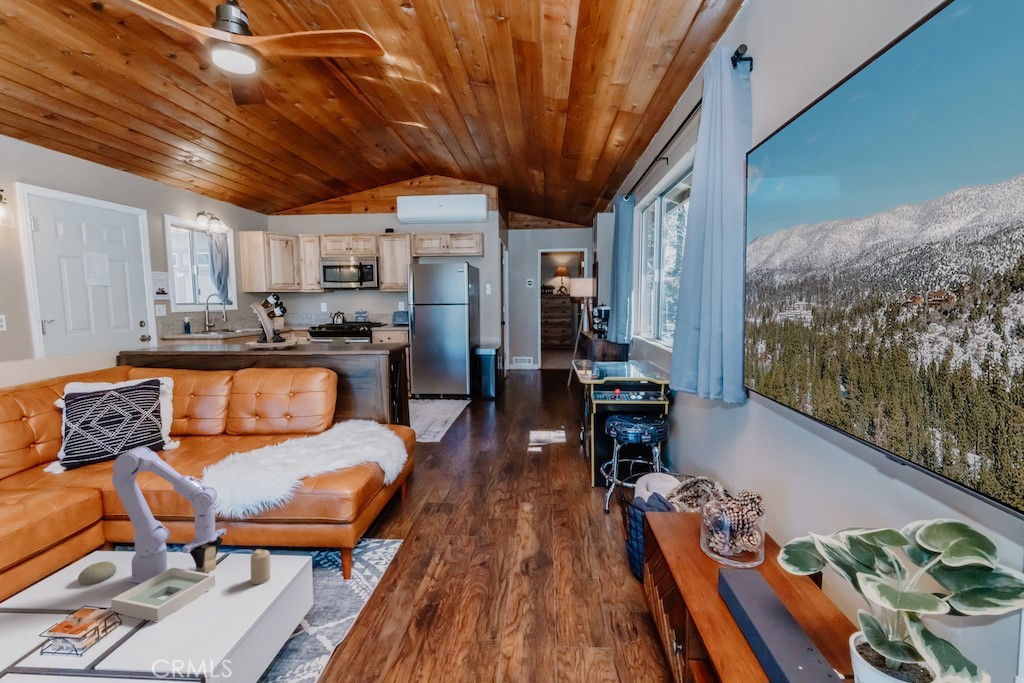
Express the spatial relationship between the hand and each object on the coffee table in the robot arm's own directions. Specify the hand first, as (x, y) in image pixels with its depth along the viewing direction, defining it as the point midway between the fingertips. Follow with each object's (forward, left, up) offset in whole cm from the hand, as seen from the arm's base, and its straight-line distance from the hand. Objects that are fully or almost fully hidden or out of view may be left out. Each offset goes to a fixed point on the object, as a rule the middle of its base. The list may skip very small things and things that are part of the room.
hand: (206, 563), depth 153 cm
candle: (+23, 0, -3) cm, 23 cm away
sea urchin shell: (-31, -13, -3) cm, 34 cm away
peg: (0, 0, -2) cm, 2 cm away
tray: (+3, -16, -2) cm, 16 cm away
